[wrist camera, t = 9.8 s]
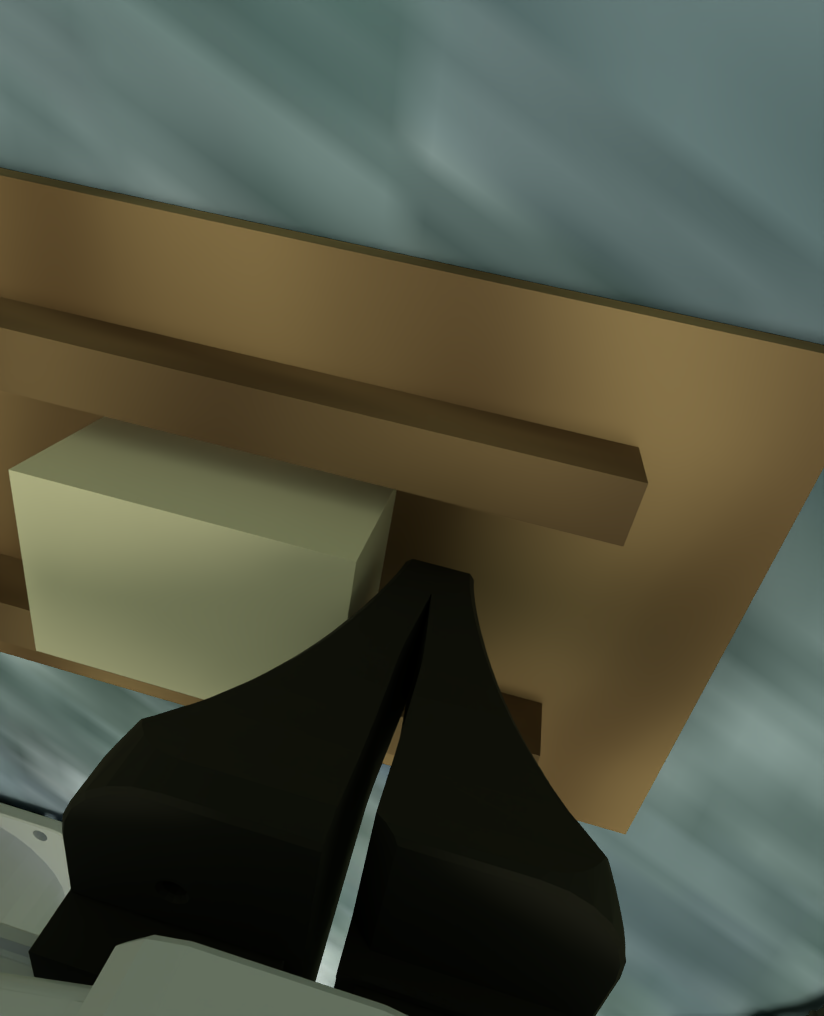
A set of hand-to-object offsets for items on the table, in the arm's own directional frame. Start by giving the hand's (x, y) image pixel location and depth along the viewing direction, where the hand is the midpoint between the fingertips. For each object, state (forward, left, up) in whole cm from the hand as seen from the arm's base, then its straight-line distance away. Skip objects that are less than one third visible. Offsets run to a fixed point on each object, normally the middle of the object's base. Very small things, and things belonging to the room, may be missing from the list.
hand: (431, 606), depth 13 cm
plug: (-4, 0, -1) cm, 4 cm away
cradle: (-9, 0, -2) cm, 9 cm away
